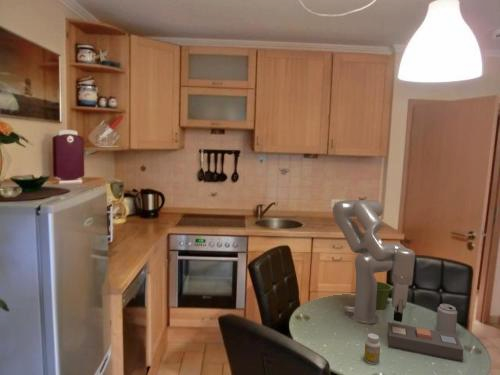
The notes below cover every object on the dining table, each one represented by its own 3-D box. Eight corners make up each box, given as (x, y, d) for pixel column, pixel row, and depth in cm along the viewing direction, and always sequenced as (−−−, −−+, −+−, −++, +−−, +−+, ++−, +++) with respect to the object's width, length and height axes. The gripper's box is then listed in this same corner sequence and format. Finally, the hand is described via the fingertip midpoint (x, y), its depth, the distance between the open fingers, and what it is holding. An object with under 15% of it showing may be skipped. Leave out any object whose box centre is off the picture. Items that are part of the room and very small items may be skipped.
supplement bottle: (376, 366, 127) (377, 341, 126) (362, 360, 130) (363, 336, 129) (381, 360, 131) (383, 336, 130) (367, 354, 134) (369, 331, 134)
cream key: (392, 341, 142) (392, 332, 142) (391, 335, 147) (392, 326, 147) (405, 343, 141) (406, 334, 140) (404, 337, 145) (405, 328, 145)
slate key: (441, 350, 136) (442, 341, 136) (439, 344, 141) (440, 335, 140) (456, 353, 134) (456, 344, 134) (453, 347, 139) (454, 337, 139)
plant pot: (388, 314, 169) (389, 291, 168) (363, 307, 176) (364, 286, 175) (392, 305, 179) (393, 284, 178) (369, 299, 186) (370, 279, 185)
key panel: (388, 347, 140) (389, 335, 139) (387, 333, 151) (388, 322, 151) (462, 362, 131) (463, 349, 130) (455, 346, 142) (456, 334, 142)
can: (458, 337, 149) (460, 311, 147) (439, 335, 150) (441, 309, 149) (451, 329, 156) (453, 303, 155) (433, 327, 157) (435, 301, 156)
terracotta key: (416, 342, 139) (417, 333, 139) (415, 336, 144) (416, 327, 143) (430, 345, 137) (431, 335, 137) (428, 339, 142) (429, 329, 142)
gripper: (391, 270, 150) (387, 310, 152) (392, 283, 136) (388, 327, 139) (410, 273, 147) (406, 314, 150) (413, 287, 133) (408, 331, 136)
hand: (397, 320), depth 144 cm, fingers closed
